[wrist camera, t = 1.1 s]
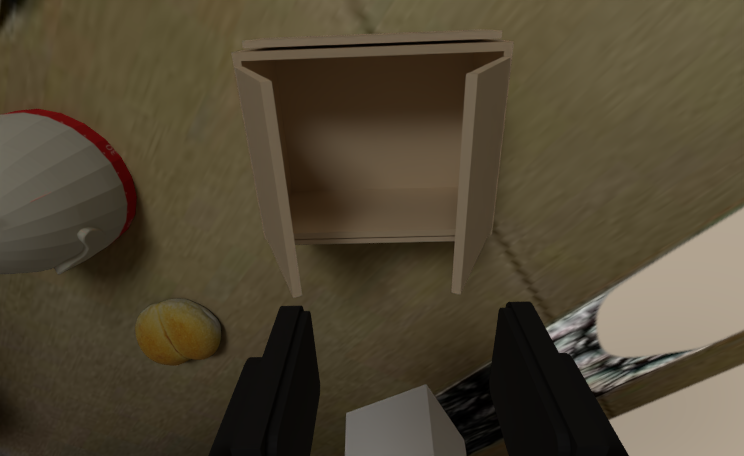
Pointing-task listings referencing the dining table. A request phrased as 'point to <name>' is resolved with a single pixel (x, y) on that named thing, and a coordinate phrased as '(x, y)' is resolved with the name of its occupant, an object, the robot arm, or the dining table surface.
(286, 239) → the flap
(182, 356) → the bread roll
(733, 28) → the dining table surface
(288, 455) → the robot arm
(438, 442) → the milk
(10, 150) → the kitchen timer
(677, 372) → the dining table surface
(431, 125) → the carton
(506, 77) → the flap
